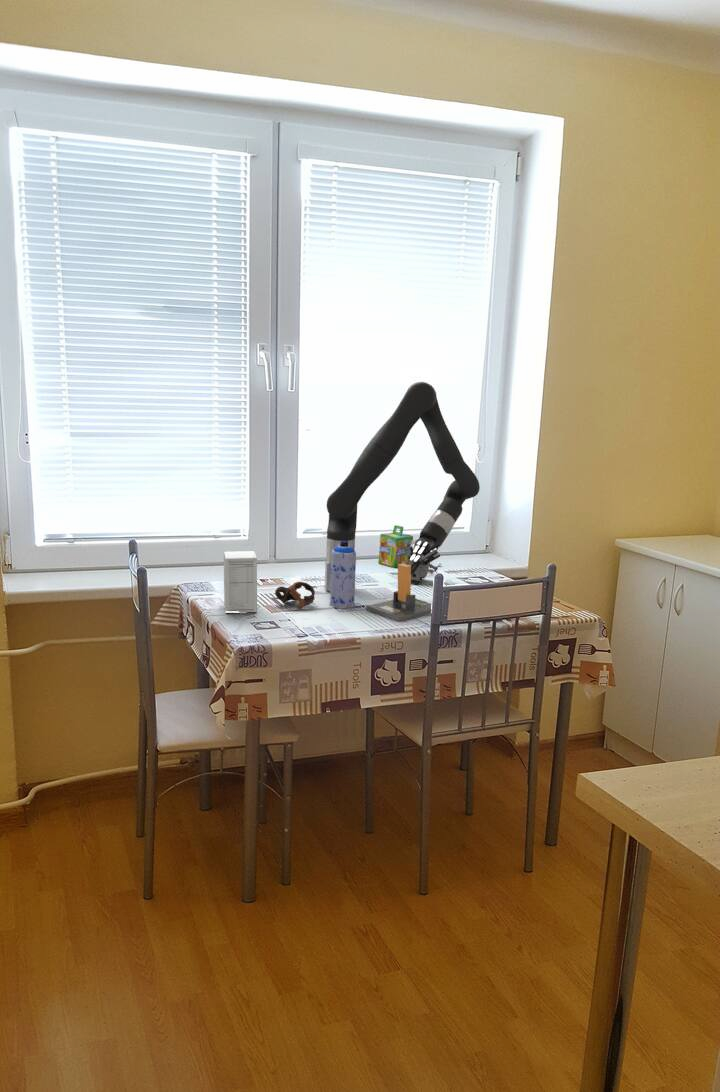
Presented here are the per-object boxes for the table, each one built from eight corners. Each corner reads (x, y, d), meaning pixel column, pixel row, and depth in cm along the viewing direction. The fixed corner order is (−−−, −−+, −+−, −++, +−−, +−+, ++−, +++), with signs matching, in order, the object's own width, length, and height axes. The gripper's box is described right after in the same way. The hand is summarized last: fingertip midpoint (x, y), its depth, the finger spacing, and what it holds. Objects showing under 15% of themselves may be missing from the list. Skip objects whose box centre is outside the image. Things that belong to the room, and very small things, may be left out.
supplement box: (255, 604, 245) (255, 550, 241) (257, 613, 236) (258, 557, 232) (223, 605, 243) (223, 550, 239) (224, 614, 234) (224, 557, 230)
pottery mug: (306, 601, 253) (315, 581, 248) (309, 621, 245) (319, 602, 241) (269, 593, 248) (279, 573, 244) (272, 614, 241) (281, 594, 237)
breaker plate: (408, 601, 255) (409, 584, 254) (440, 611, 245) (442, 594, 244) (366, 610, 243) (366, 592, 242) (398, 621, 233) (399, 603, 232)
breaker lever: (402, 601, 245) (402, 563, 242) (410, 604, 243) (411, 565, 240) (397, 603, 244) (397, 564, 241) (406, 606, 241) (406, 566, 238)
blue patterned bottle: (357, 602, 251) (360, 539, 247) (351, 609, 244) (353, 544, 239) (333, 600, 253) (335, 537, 249) (326, 606, 245) (328, 542, 241)
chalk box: (377, 563, 304) (379, 525, 301) (395, 560, 310) (396, 523, 307) (395, 568, 298) (397, 529, 295) (412, 565, 304) (414, 526, 301)
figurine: (436, 586, 274) (438, 543, 271) (403, 583, 277) (405, 540, 274) (440, 580, 282) (443, 538, 279) (408, 577, 285) (410, 535, 282)
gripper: (416, 517, 250) (386, 561, 244) (448, 524, 240) (418, 569, 235) (427, 532, 255) (398, 575, 249) (459, 539, 245) (429, 584, 240)
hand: (408, 572), depth 242 cm, fingers closed
